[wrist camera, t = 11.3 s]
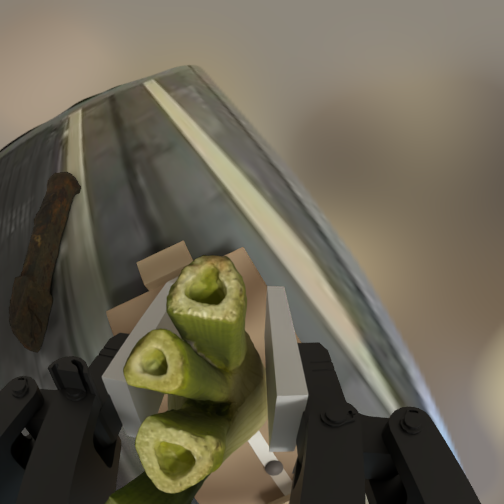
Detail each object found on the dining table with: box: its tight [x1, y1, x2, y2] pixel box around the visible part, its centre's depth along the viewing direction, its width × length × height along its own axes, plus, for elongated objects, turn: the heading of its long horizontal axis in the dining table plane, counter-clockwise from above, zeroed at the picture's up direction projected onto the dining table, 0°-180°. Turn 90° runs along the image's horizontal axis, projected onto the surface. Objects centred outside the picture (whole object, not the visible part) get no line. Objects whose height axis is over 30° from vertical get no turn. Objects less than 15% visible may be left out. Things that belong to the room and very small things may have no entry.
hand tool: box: [9, 172, 81, 353], centre depth 21 cm, size 19×4×5 cm, turn 4°
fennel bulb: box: [104, 255, 268, 504], centre depth 8 cm, size 6×5×12 cm
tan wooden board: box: [106, 241, 301, 504], centre depth 17 cm, size 22×12×3 cm, turn 28°
